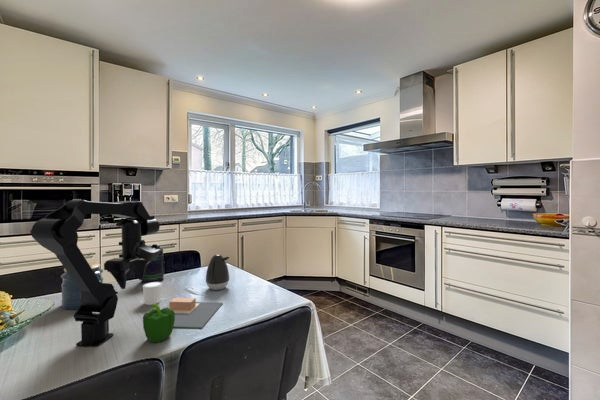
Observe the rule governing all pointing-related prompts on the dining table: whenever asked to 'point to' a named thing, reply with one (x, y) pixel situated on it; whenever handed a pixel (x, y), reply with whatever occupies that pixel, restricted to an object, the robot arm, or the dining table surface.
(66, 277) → the canister
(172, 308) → the flat block
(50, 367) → the dining table surface
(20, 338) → the dining table surface
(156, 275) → the storage jar
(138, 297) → the dining table surface
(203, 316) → the rubber mat
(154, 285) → the white cup
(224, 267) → the pump dispenser
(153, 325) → the bell pepper
